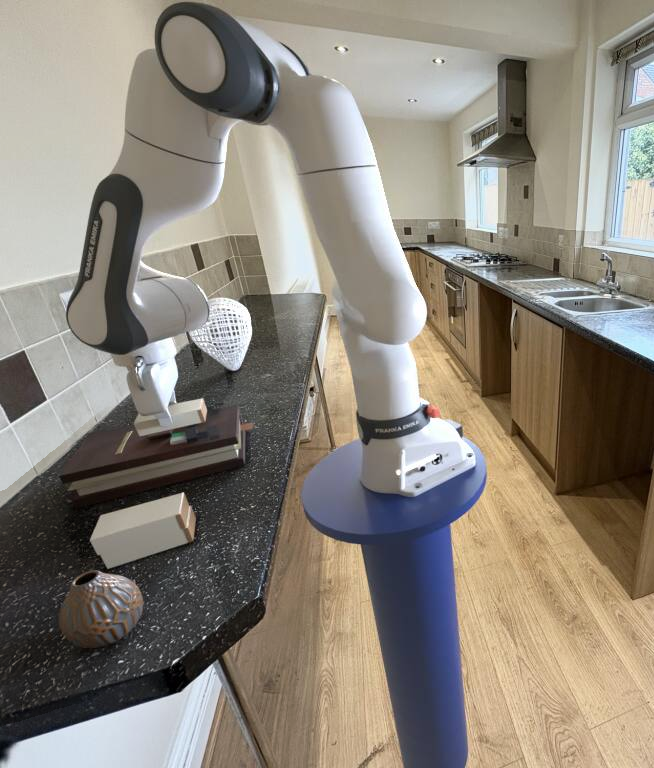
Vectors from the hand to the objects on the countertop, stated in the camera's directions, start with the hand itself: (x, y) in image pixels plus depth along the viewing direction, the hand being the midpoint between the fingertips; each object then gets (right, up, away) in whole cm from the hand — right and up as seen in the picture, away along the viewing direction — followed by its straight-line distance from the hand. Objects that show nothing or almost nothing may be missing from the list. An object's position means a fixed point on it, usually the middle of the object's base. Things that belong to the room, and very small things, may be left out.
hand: (170, 417), depth 79 cm
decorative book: (-3, -10, +4) cm, 11 cm away
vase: (+18, -24, -29) cm, 42 cm away
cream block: (0, -1, +1) cm, 1 cm away
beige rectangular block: (+11, -18, -16) cm, 26 cm away
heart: (-24, +11, +54) cm, 60 cm away
